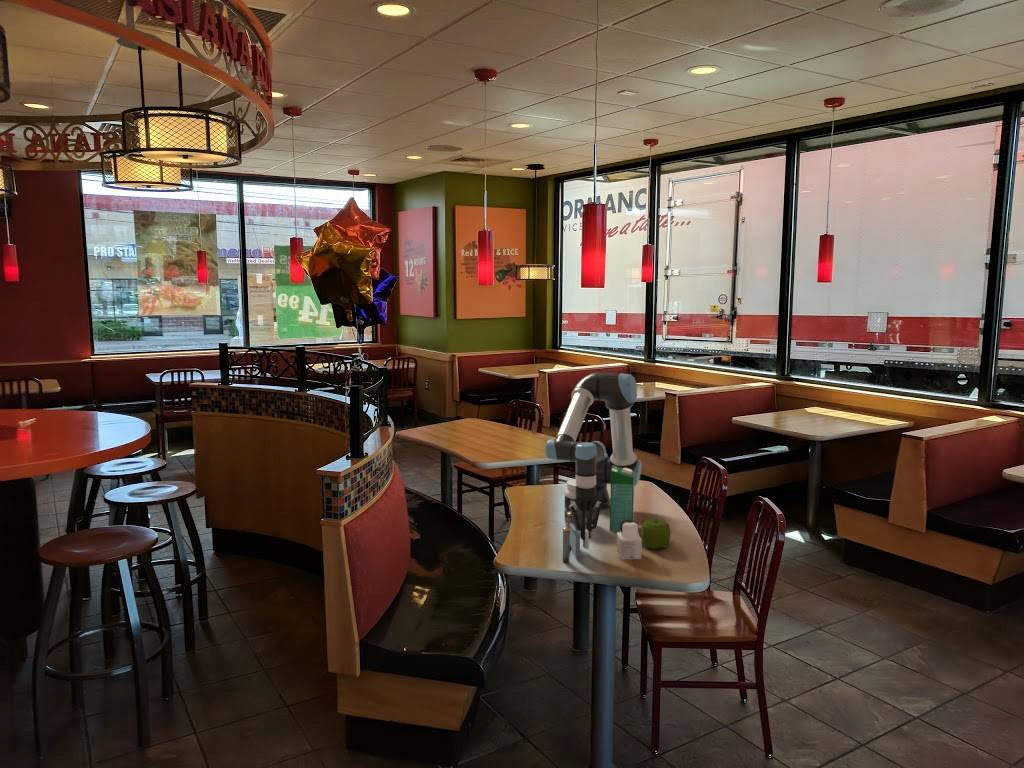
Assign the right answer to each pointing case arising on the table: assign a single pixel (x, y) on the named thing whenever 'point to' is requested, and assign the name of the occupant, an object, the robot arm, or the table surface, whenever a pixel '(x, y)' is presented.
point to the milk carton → (621, 496)
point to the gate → (574, 539)
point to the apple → (655, 533)
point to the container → (629, 540)
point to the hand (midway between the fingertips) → (585, 547)
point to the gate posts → (567, 538)
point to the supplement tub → (572, 500)
